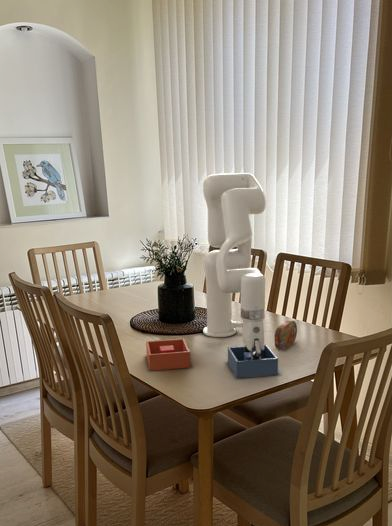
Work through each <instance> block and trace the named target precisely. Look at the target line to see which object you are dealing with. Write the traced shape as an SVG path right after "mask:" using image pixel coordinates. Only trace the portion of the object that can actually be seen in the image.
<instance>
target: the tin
mask: <svg viewBox="0 0 392 526" xmlns="http://www.w3.org/2000/svg"><path fill="white" fill-rule="evenodd" d="M297 334H298V326H297V322H296V321H295V320H286V321H284V322H282V323H281V324H280V325H278V327H276V329H275V331H274V347H275V348H276V349H277V350H283V351H285V350H287V349H288V348H290V346H292V345H293V344H294V343H295V342H296V340H297Z"/></svg>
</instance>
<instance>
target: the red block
mask: <svg viewBox="0 0 392 526" xmlns="http://www.w3.org/2000/svg"><path fill="white" fill-rule="evenodd" d="M173 352H175V350H174V347H173V345H169V346H160V353H173Z"/></svg>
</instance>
